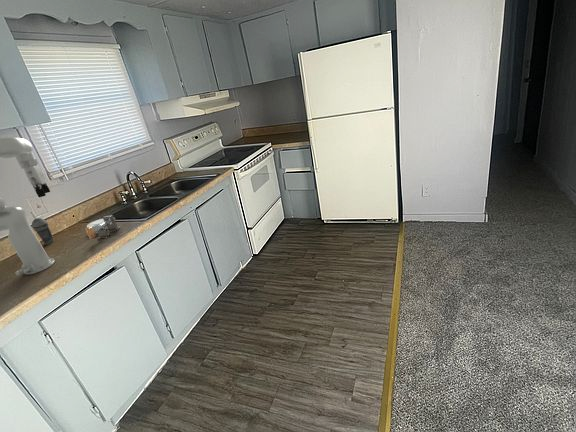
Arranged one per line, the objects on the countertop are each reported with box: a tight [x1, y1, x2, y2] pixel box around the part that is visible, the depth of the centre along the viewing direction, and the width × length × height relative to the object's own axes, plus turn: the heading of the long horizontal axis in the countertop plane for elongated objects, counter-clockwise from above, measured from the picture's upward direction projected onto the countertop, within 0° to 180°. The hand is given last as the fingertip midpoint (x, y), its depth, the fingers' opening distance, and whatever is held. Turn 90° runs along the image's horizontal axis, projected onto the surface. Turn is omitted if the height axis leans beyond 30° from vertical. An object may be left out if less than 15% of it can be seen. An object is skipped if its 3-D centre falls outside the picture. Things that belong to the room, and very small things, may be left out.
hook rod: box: [84, 217, 116, 241], centre depth 169 cm, size 20×4×6 cm, turn 171°
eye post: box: [102, 214, 121, 233], centre depth 175 cm, size 5×6×9 cm
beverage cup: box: [30, 211, 55, 245], centre depth 173 cm, size 7×7×20 cm
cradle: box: [97, 229, 111, 240], centre depth 169 cm, size 4×5×5 cm
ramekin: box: [86, 218, 108, 235], centre depth 180 cm, size 11×11×5 cm
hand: (44, 194), depth 165 cm, fingers open, 9 cm apart
